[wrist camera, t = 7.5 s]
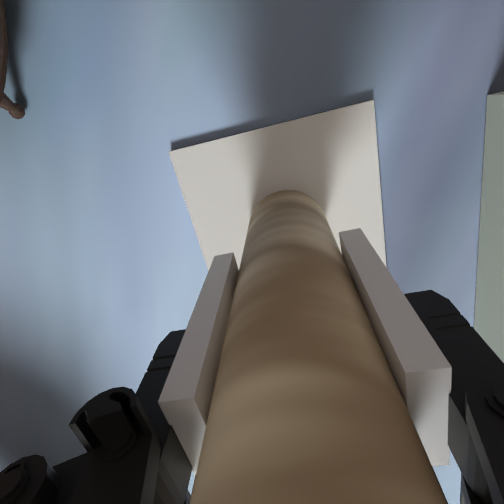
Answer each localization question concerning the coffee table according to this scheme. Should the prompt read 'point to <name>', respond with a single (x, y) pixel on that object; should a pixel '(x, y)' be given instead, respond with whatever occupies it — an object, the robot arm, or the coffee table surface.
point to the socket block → (492, 232)
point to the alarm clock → (3, 101)
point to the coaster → (285, 176)
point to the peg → (305, 381)
